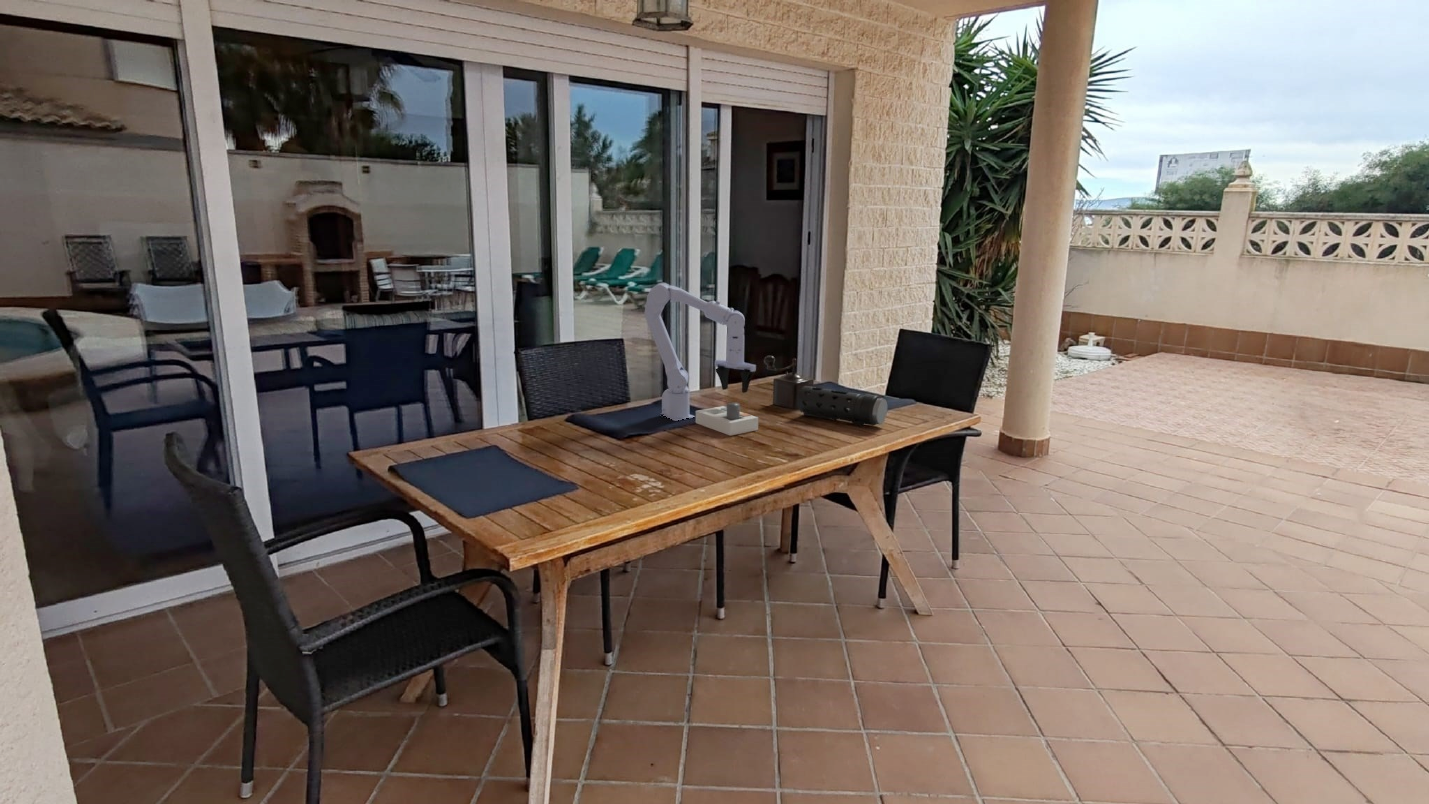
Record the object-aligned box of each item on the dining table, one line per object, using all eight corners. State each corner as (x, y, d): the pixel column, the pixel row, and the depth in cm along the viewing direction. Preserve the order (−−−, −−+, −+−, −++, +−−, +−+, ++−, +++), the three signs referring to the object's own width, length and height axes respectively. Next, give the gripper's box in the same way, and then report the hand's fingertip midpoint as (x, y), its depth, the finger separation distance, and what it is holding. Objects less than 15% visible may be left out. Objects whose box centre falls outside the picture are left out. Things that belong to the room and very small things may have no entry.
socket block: (695, 422, 245) (695, 409, 244) (722, 417, 251) (722, 405, 250) (730, 435, 231) (730, 422, 230) (758, 429, 238) (758, 416, 236)
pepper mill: (790, 399, 277) (792, 350, 273) (813, 405, 269) (815, 354, 265) (760, 406, 267) (761, 355, 263) (783, 412, 259) (784, 360, 255)
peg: (724, 427, 238) (724, 403, 236) (736, 426, 240) (736, 401, 238) (729, 431, 235) (729, 406, 233) (741, 429, 236) (741, 405, 234)
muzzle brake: (810, 412, 260) (811, 382, 257) (887, 425, 244) (889, 394, 241) (796, 418, 252) (797, 387, 250) (875, 432, 236) (876, 399, 234)
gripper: (709, 348, 246) (709, 389, 249) (748, 353, 238) (747, 395, 241) (721, 345, 251) (721, 386, 255) (759, 350, 244) (758, 391, 247)
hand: (734, 390), depth 248 cm, fingers open, 7 cm apart
